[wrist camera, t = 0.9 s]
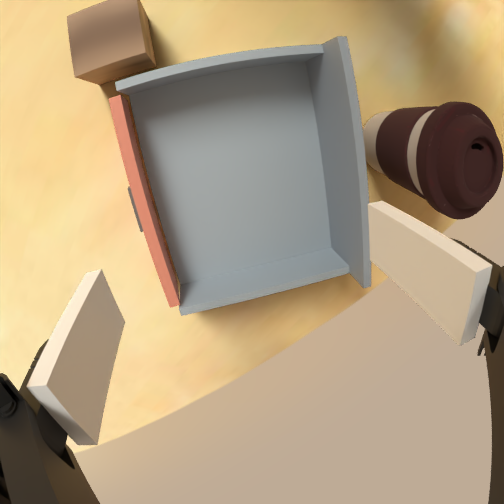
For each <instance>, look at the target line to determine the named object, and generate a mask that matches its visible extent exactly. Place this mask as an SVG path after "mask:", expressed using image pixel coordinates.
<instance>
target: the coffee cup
mask: <svg viewBox="0 0 504 504" xmlns="http://www.w3.org/2000/svg"><path fill="white" fill-rule="evenodd" d="M363 138H364V147H365V157H366V161H367V162H368V164H369V165H370V166H371V167H372V168H373V169H375V170H376V171H378V172H380V173H382V174H384V175H386V176H387V177H388V178H389V179H390V180H392V181H393V182H395V183H397V184H399V185H401V186H402V187H404V188H406V189H408V190H410V191H411V192H413V193H415V194H417V195H419V196H420V197H422V198H424V199H426V200H427V201H428V203H429V204H430V205H431V206H432V207H433V208H434V209H435V210H437V211H438V212H440V213H442V214H444V215H446V216H448V217H450V218H453V219H465V218H469V217H471V216H473V215H474V214H476V213H477V212H478V211H480V210H481V209H482V208H483V207H484V206H485V204H486V203H487V202H489V200H490V199H491V198H492V197H493V196H494V194H495V193H496V191H497V189H498V187H499V184H500V181H501V178H502V172H503V153H502V147H501V144H500V141H499V139H498V137H497V135H496V132H495V129H494V127H493V125H492V123H491V121H490V120H489V118H488V117H487V115H486V114H485V113H484V112H483V111H482V110H481V109H480V108H478V107H477V106H475V105H473V104H470V103H465V102H448V103H445V104H443V105H440V106H434V107H415V108H403V109H398V110H395V111H388V112H381V113H378V114H376V115H374V116H373V117H371V118H370V119H369V120H368V122H367V123H366V125H365V126H364V129H363Z"/></svg>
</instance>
